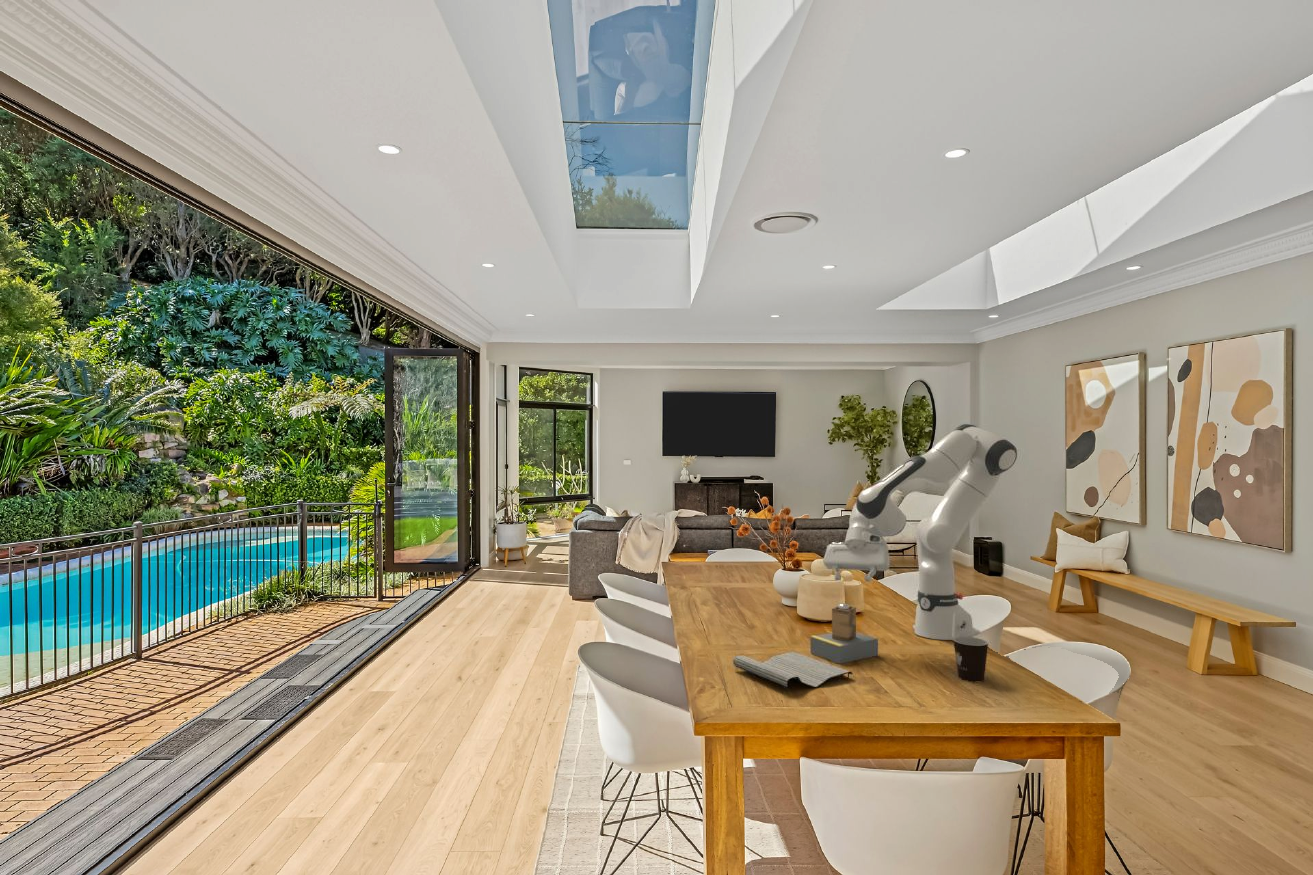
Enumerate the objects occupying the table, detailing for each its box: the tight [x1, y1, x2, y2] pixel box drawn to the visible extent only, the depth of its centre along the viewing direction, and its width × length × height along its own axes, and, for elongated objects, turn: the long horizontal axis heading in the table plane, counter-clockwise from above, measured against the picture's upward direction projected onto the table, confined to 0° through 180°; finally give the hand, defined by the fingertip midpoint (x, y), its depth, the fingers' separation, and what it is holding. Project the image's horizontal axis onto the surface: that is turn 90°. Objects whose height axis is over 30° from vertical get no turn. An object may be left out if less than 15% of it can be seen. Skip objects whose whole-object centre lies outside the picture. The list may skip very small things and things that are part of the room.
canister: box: [838, 603, 850, 610], centre depth 206 cm, size 3×3×2 cm
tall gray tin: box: [831, 606, 857, 641], centre depth 205 cm, size 6×5×9 cm
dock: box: [810, 631, 879, 665], centre depth 205 cm, size 16×12×5 cm
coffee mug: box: [952, 636, 989, 683], centre depth 185 cm, size 12×9×10 cm
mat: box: [732, 651, 853, 693], centre depth 187 cm, size 23×24×5 cm
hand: (852, 580), depth 209 cm, fingers open, 8 cm apart
